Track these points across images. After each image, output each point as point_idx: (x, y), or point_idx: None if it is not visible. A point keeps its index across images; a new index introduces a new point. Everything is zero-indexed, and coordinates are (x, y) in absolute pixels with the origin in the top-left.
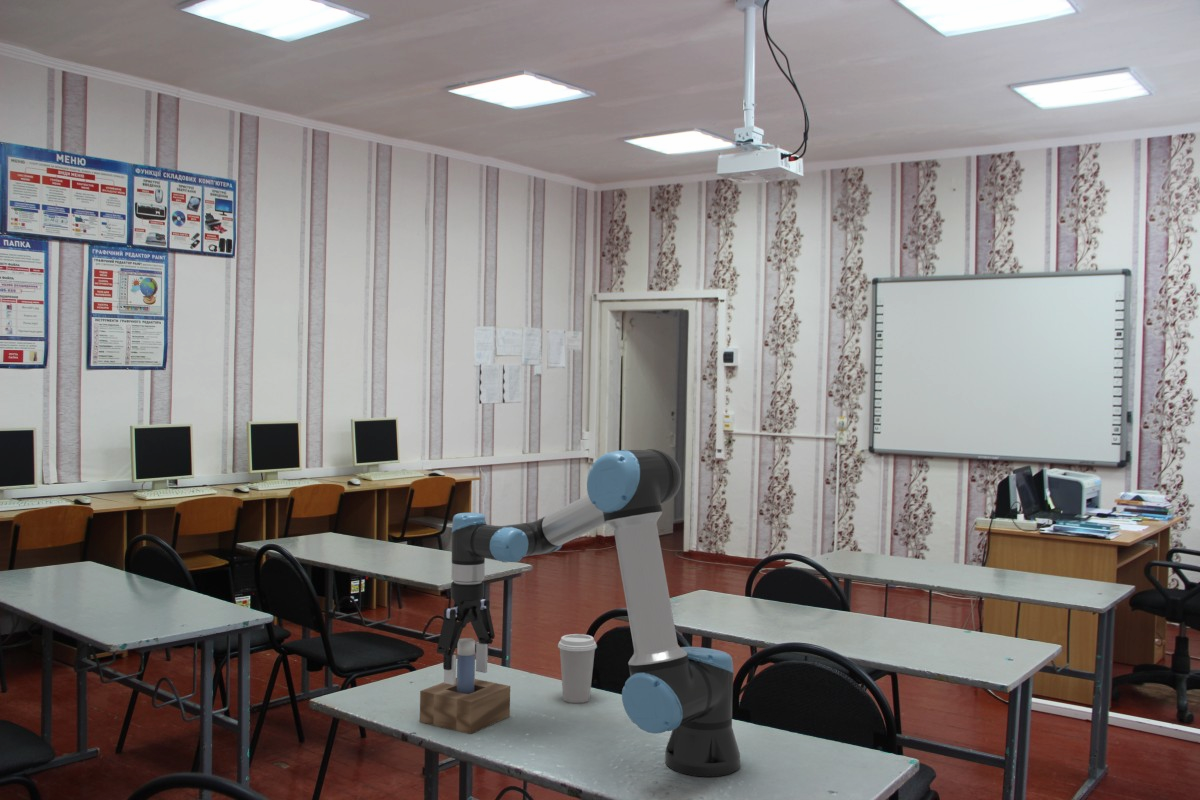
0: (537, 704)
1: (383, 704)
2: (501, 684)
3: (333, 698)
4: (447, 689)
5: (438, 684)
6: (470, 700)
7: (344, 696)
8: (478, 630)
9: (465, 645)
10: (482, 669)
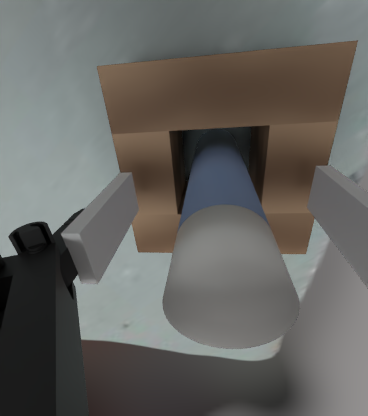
0: (17, 78)
1: None
2: (108, 109)
3: (249, 354)
4: None
5: None
6: (337, 60)
7: (233, 350)
8: (69, 348)
9: (286, 268)
10: (130, 188)
